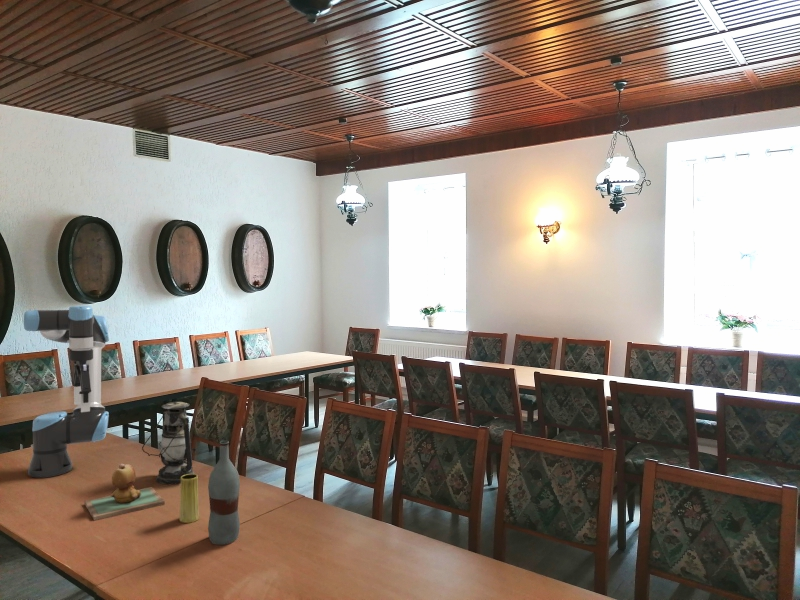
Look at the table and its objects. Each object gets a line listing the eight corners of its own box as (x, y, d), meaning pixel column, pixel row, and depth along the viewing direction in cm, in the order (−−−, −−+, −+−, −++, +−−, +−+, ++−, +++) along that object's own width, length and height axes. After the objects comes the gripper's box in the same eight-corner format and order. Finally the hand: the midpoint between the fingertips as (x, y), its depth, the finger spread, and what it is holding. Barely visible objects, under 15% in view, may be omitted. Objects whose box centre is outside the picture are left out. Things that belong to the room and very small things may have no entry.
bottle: (210, 548, 168) (210, 448, 167) (205, 535, 176) (205, 439, 175) (242, 541, 173) (243, 444, 171) (236, 529, 181) (236, 436, 179)
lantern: (207, 477, 226) (206, 402, 224) (164, 492, 210) (164, 411, 208) (176, 467, 236) (176, 396, 234) (134, 481, 220) (133, 404, 218)
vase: (203, 517, 189) (203, 475, 188) (189, 524, 184) (189, 481, 183) (189, 513, 192) (189, 472, 191) (175, 520, 186) (175, 477, 185)
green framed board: (84, 504, 198) (84, 500, 198) (151, 490, 212) (151, 486, 212) (94, 520, 185) (94, 516, 185) (164, 504, 199) (164, 500, 199)
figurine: (146, 495, 203) (140, 459, 199) (134, 509, 196) (128, 471, 191) (120, 494, 204) (113, 457, 200) (107, 507, 197) (100, 469, 192)
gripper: (63, 345, 211) (64, 402, 212) (75, 354, 192) (76, 416, 193) (86, 344, 216) (87, 400, 217) (100, 352, 196) (100, 413, 197)
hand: (81, 407), depth 205 cm, fingers open, 13 cm apart
